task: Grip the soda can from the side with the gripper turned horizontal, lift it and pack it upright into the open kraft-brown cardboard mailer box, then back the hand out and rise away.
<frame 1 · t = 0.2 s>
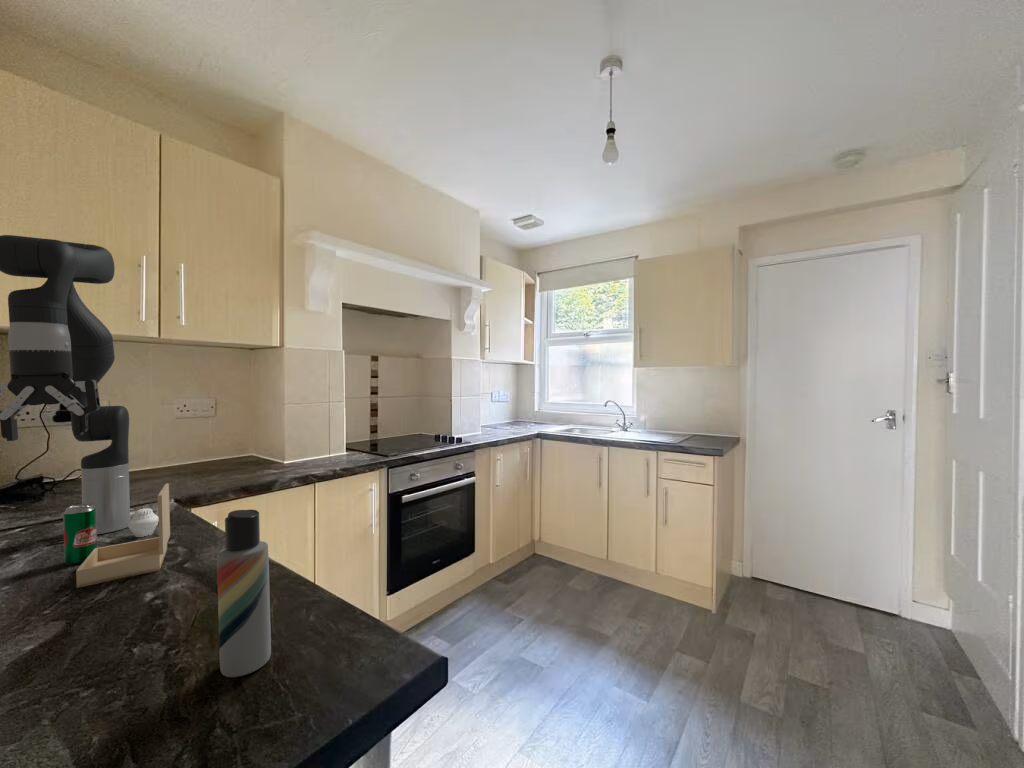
hand: (46, 437, 77), 28 cm above the countertop, tool pointing down, fingers open, 8 cm apart
soda can: (81, 562, 92), on the countertop
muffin: (144, 536, 107), on the countertop
lotion bottle: (246, 665, 55), on the countertop
mailer box: (126, 566, 88), on the countertop
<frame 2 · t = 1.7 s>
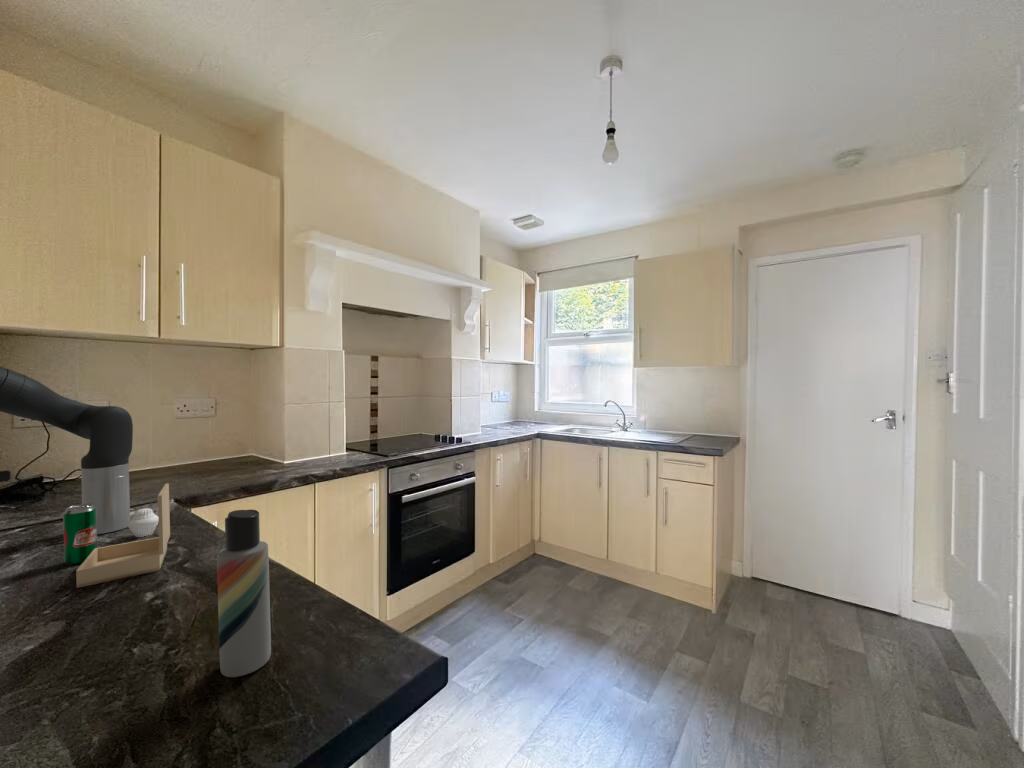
hand: (1, 478, 85), 20 cm above the countertop, tool horizontal, fingers open, 8 cm apart
nothing on the countertop moved.
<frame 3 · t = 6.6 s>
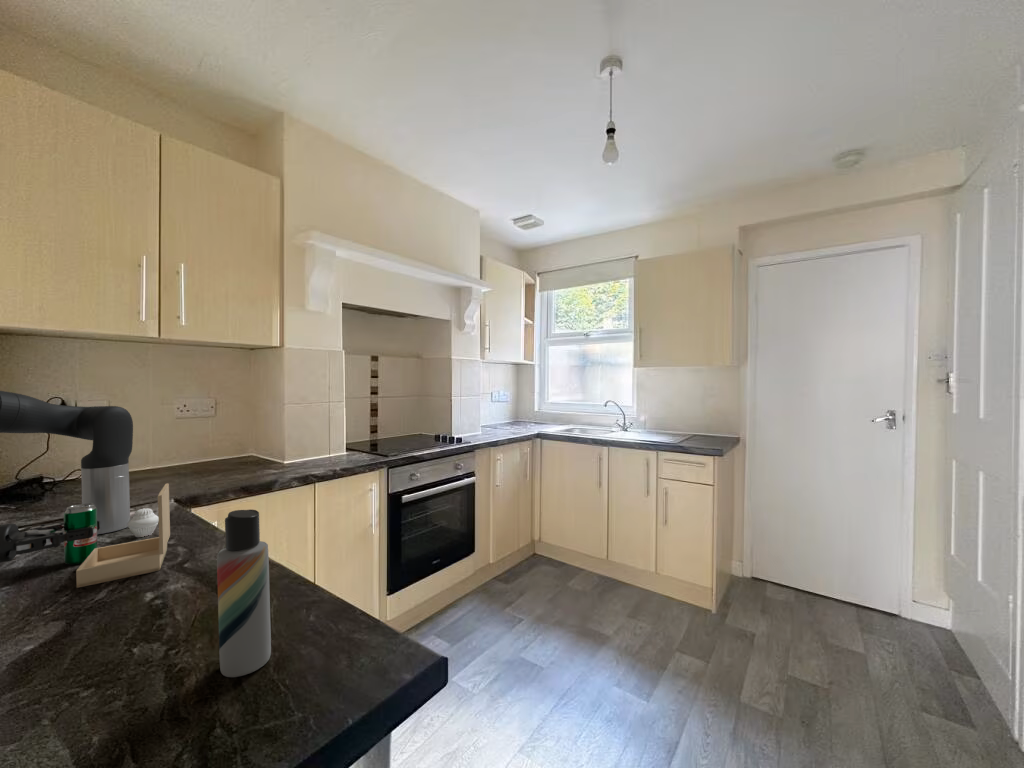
hand: (96, 528, 93), 7 cm above the countertop, tool horizontal, fingers closed on soda can, 5 cm apart
soda can: (81, 561, 92), on the countertop, touching gripper
everything else where it was.
when the fingers open (9 cm above the countertop, at t = 11.8 s): soda can drops 1 cm, resting on mailer box.
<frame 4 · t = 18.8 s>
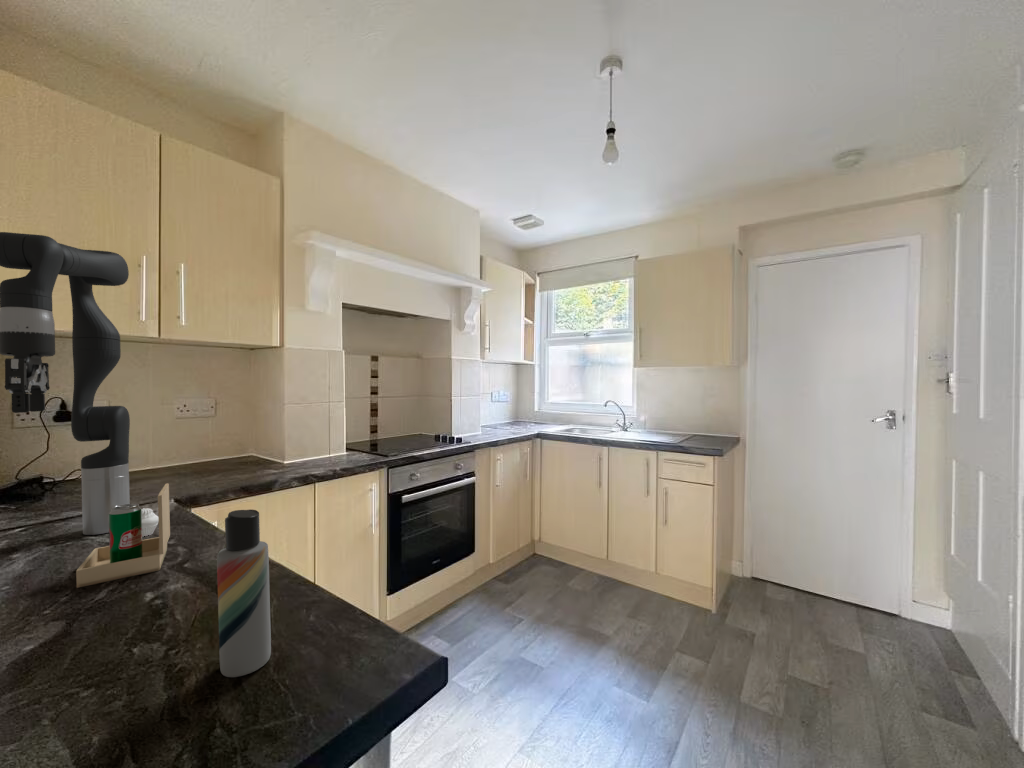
hand: (29, 411, 85), 33 cm above the countertop, tool pointing down, fingers open, 8 cm apart
soda can: (126, 564, 88), resting on mailer box
everything else where it was.
at the end: soda can inside the target area on the mailer box (0.1 cm from its centre), point 0.4 cm above the mailer box's base; soda can tilted 0°; the gripper is holding nothing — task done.
